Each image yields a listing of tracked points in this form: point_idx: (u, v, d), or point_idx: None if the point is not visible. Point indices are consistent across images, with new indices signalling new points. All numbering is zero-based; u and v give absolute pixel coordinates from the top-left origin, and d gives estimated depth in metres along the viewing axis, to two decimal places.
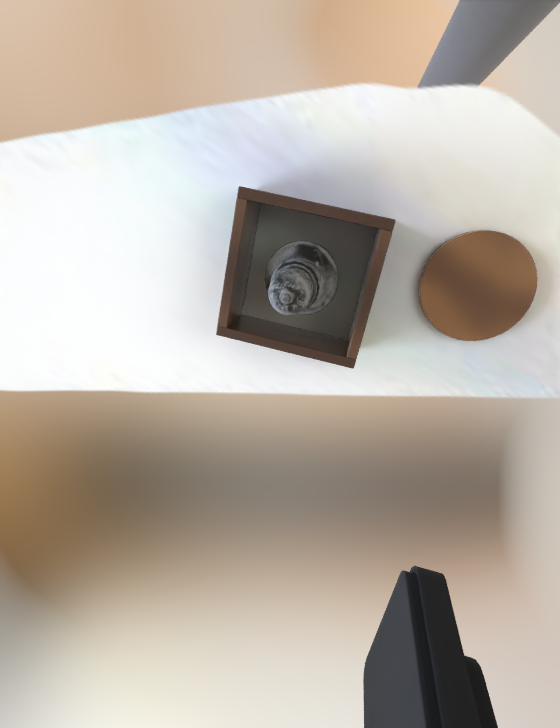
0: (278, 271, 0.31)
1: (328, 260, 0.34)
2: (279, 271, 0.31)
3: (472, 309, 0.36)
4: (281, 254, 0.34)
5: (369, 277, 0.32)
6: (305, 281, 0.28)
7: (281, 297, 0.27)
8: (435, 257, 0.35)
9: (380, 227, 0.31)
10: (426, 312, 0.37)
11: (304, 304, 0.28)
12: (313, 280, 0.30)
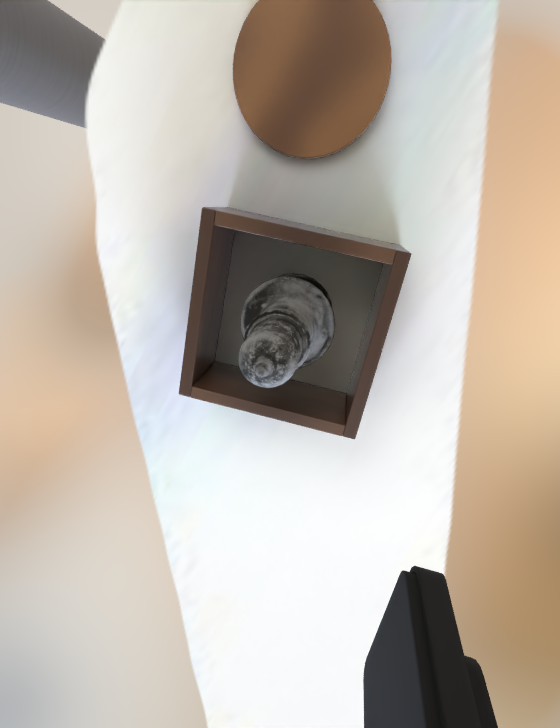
0: None
1: (262, 290, 0.26)
2: None
3: (340, 71, 0.24)
4: None
5: (275, 237, 0.24)
6: (249, 337, 0.20)
7: (260, 376, 0.19)
8: (268, 140, 0.26)
9: (212, 226, 0.24)
10: (344, 143, 0.26)
11: (277, 340, 0.20)
12: (266, 318, 0.23)
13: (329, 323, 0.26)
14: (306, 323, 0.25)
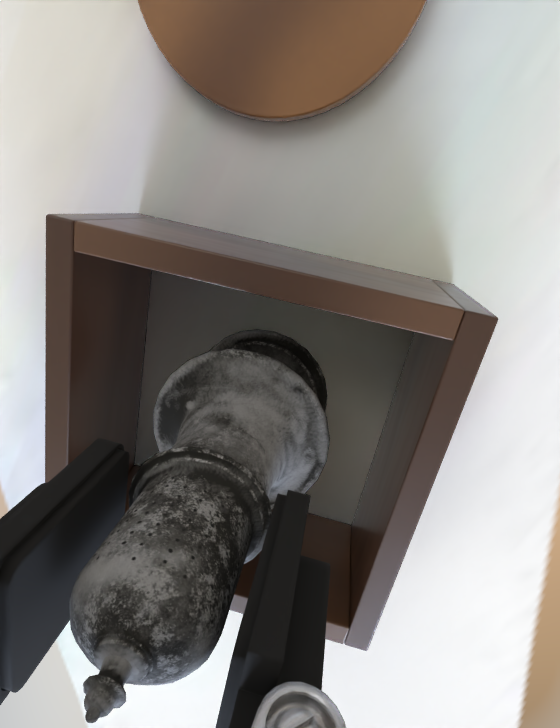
0: None
1: (189, 373, 0.13)
2: None
3: None
4: None
5: (200, 277, 0.11)
6: (95, 559, 0.08)
7: None
8: (202, 85, 0.14)
9: (69, 254, 0.11)
10: (349, 87, 0.13)
11: (161, 588, 0.07)
12: (169, 467, 0.10)
13: (318, 438, 0.13)
14: (269, 453, 0.12)
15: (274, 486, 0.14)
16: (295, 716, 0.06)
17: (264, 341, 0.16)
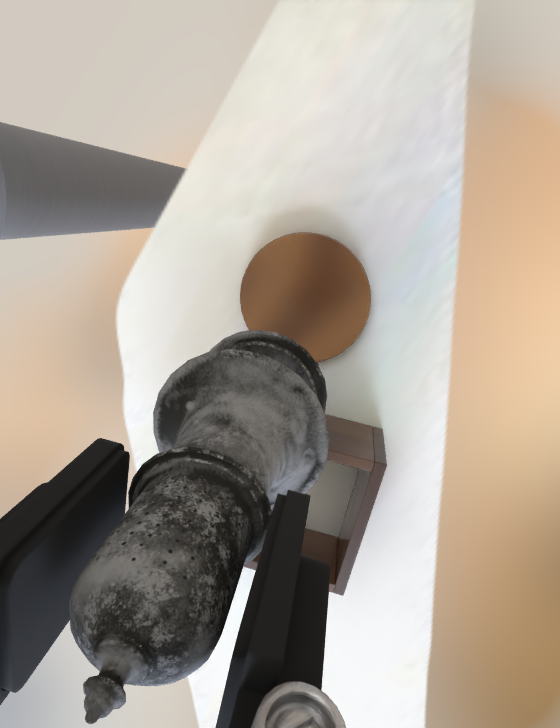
0: None
1: (188, 374, 0.13)
2: None
3: (329, 303, 0.29)
4: None
5: None
6: (95, 560, 0.08)
7: None
8: None
9: None
10: (333, 354, 0.31)
11: (160, 589, 0.07)
12: (169, 467, 0.10)
13: (318, 439, 0.13)
14: (269, 453, 0.12)
15: (274, 486, 0.14)
16: (295, 716, 0.06)
17: (264, 342, 0.16)
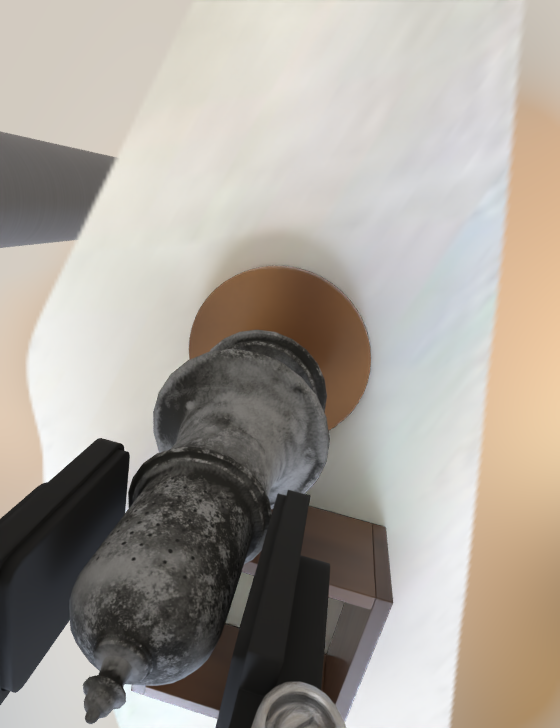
0: None
1: (188, 373, 0.13)
2: None
3: None
4: None
5: None
6: (95, 560, 0.08)
7: None
8: None
9: None
10: None
11: (160, 588, 0.07)
12: (169, 467, 0.10)
13: (318, 438, 0.13)
14: (269, 453, 0.12)
15: (274, 486, 0.14)
16: (295, 716, 0.06)
17: (264, 342, 0.16)
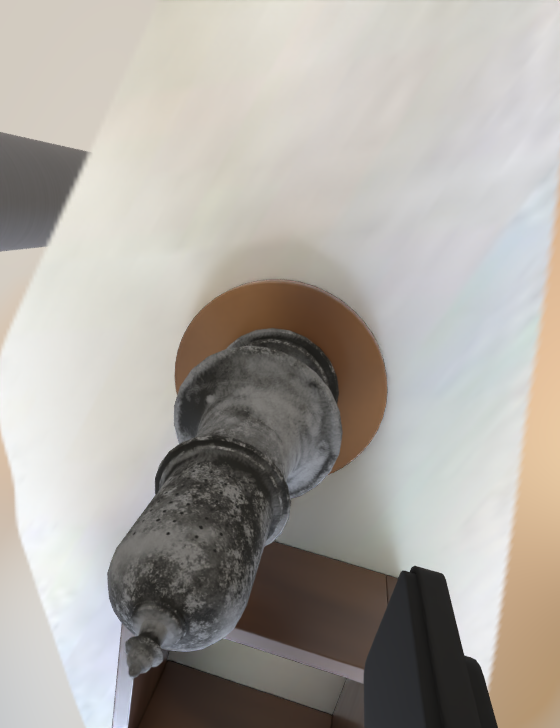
0: None
1: (209, 369, 0.14)
2: None
3: None
4: None
5: (224, 637, 0.17)
6: (131, 535, 0.08)
7: None
8: None
9: None
10: None
11: (193, 560, 0.08)
12: (194, 454, 0.11)
13: (332, 431, 0.14)
14: (286, 444, 0.13)
15: (289, 477, 0.14)
16: None
17: (279, 339, 0.17)
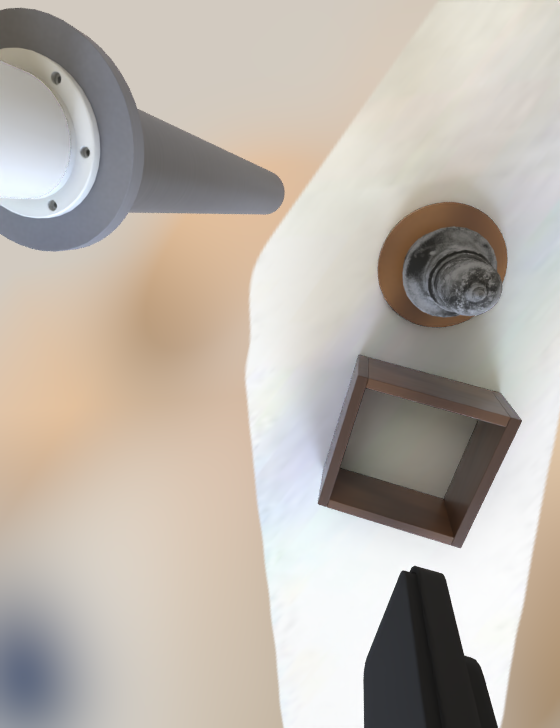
0: (438, 301, 0.25)
1: (430, 239, 0.28)
2: (438, 299, 0.25)
3: None
4: (416, 296, 0.29)
5: (414, 400, 0.31)
6: (458, 267, 0.22)
7: (477, 299, 0.21)
8: (401, 312, 0.33)
9: (363, 388, 0.31)
10: (463, 319, 0.33)
11: (489, 269, 0.21)
12: (455, 257, 0.24)
13: None
14: None
15: None
16: None
17: None
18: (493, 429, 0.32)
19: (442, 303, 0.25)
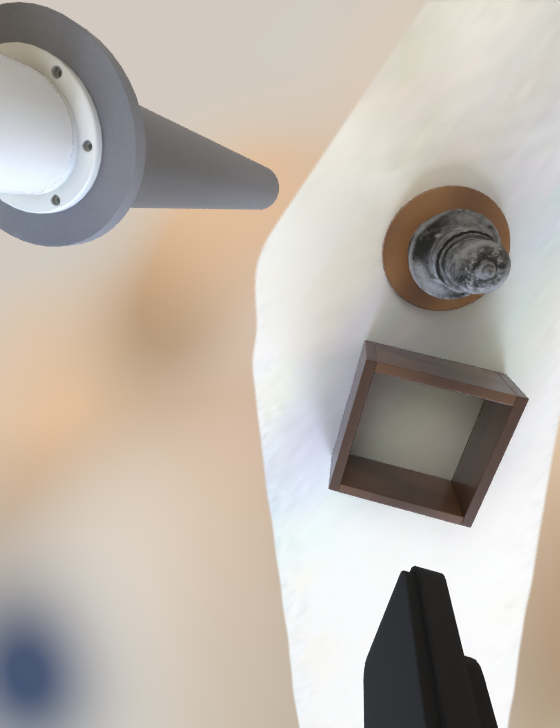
0: (446, 282, 0.26)
1: (435, 222, 0.28)
2: (446, 280, 0.26)
3: None
4: (422, 278, 0.29)
5: (422, 382, 0.31)
6: (466, 246, 0.22)
7: (486, 276, 0.21)
8: (406, 297, 0.34)
9: (372, 372, 0.32)
10: (468, 302, 0.33)
11: (498, 247, 0.22)
12: (462, 237, 0.25)
13: None
14: None
15: None
16: None
17: None
18: (500, 409, 0.33)
19: (450, 284, 0.26)
